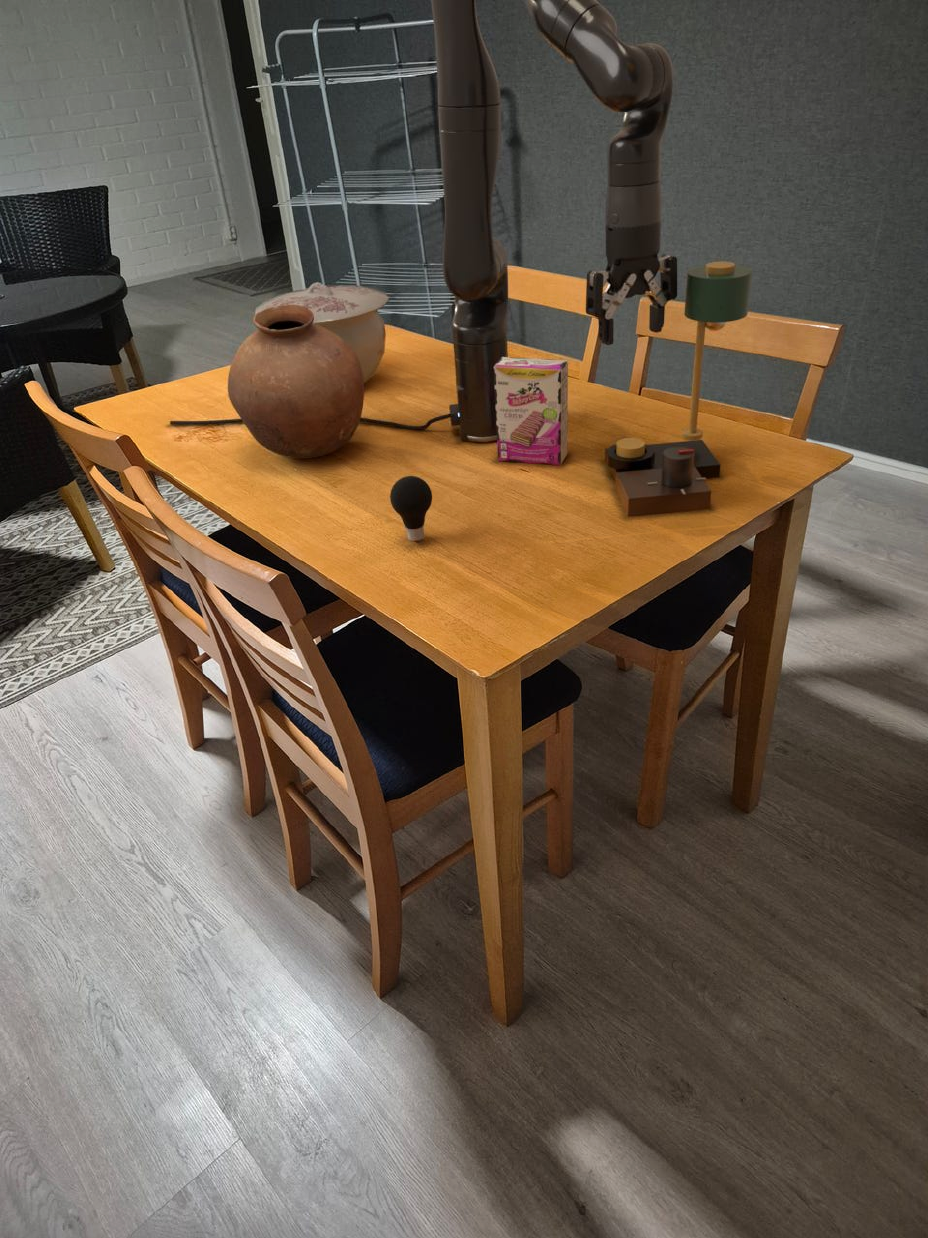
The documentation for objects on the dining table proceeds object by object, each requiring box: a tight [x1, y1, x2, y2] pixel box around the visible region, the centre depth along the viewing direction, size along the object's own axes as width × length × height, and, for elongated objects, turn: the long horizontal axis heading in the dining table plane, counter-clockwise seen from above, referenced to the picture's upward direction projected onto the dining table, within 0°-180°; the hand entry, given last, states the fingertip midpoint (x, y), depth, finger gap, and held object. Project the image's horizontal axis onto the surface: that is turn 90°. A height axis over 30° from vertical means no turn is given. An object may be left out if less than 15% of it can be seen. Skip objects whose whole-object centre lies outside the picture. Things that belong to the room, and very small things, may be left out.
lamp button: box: [615, 437, 646, 458], centre depth 133 cm, size 4×4×2 cm
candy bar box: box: [494, 356, 569, 466], centre depth 138 cm, size 11×5×16 cm, turn 71°
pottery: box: [227, 304, 365, 459], centre depth 145 cm, size 23×23×25 cm
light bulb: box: [389, 475, 433, 543], centre depth 119 cm, size 6×6×10 cm
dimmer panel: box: [615, 465, 712, 518], centre depth 126 cm, size 12×9×3 cm
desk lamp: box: [681, 261, 753, 441], centre depth 128 cm, size 9×9×26 cm
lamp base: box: [604, 439, 721, 484], centre depth 135 cm, size 17×10×4 cm, turn 93°
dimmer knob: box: [661, 447, 694, 488], centre depth 124 cm, size 4×4×5 cm
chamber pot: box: [254, 282, 389, 384], centre depth 177 cm, size 28×28×21 cm
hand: (631, 337), depth 126 cm, fingers open, 8 cm apart
